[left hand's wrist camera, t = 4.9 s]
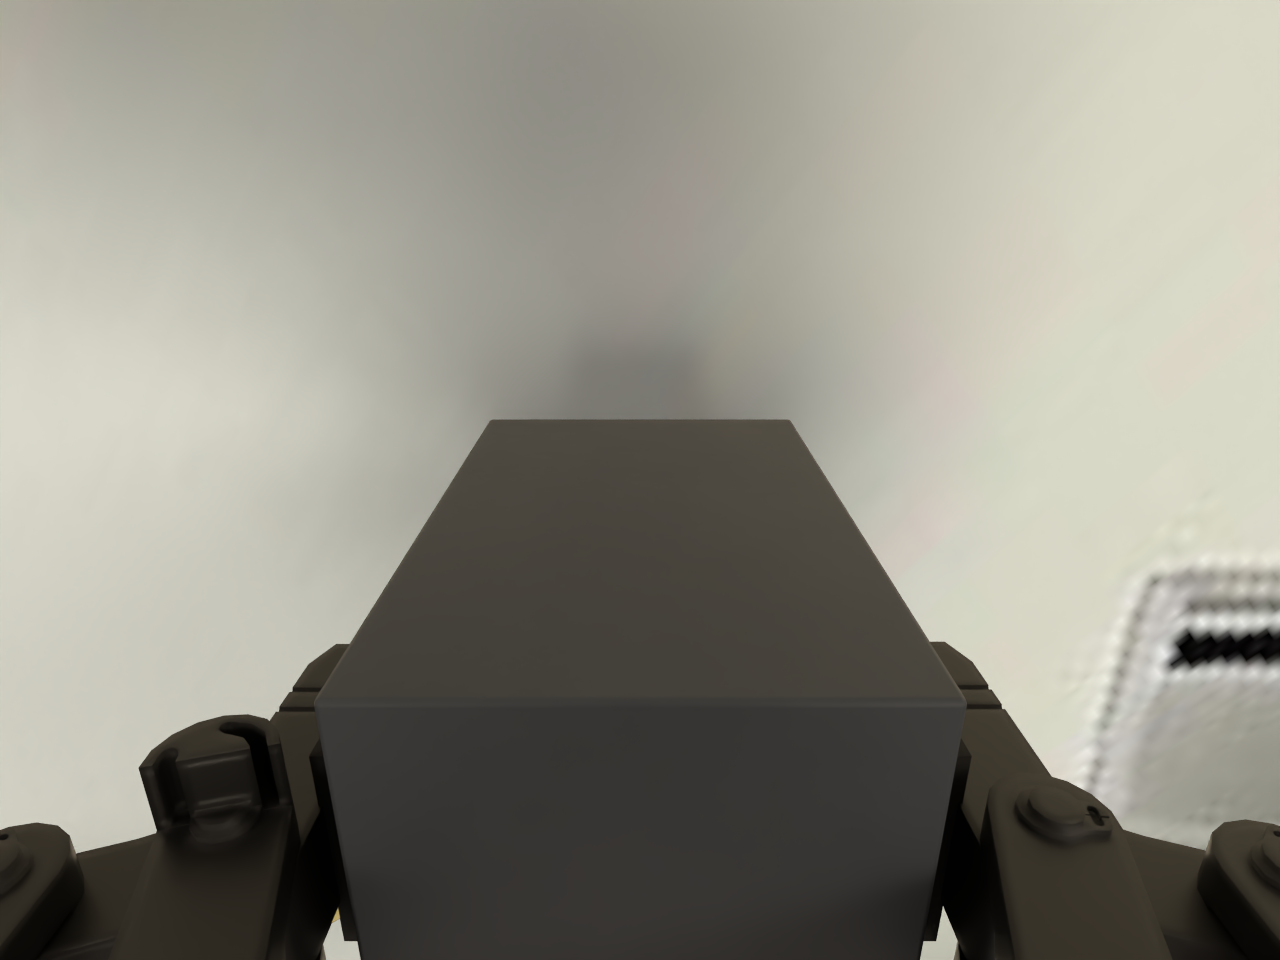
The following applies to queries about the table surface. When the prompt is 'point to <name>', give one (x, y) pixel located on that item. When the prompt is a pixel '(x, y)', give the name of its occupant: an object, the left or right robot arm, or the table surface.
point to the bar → (640, 712)
